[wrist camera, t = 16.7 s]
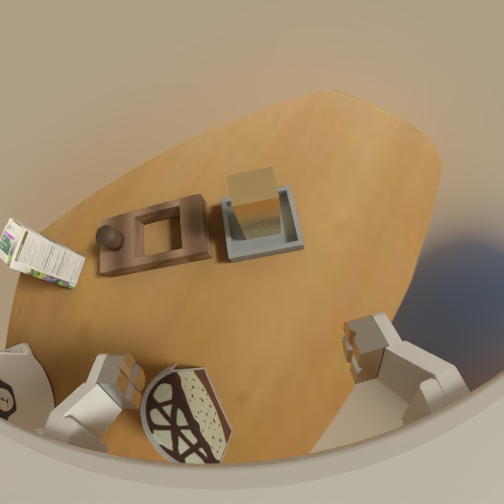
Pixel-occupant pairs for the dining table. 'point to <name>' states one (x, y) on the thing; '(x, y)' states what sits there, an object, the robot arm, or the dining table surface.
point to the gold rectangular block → (256, 202)
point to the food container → (185, 417)
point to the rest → (268, 244)
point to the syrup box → (39, 255)
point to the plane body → (132, 237)
